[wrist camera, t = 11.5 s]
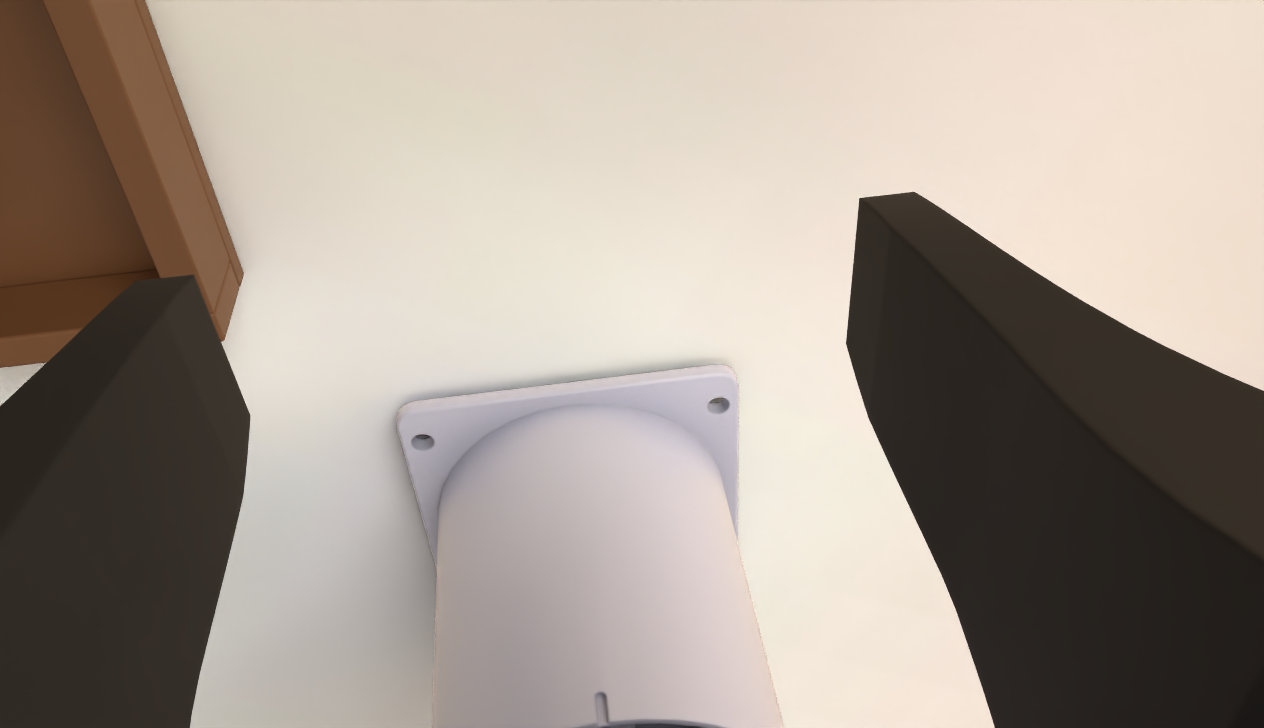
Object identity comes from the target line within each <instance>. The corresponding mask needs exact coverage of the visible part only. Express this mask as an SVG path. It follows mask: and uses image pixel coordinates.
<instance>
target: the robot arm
mask: <svg viewBox="0 0 1264 728" xmlns="http://www.w3.org/2000/svg"><path fill="white" fill-rule="evenodd" d="M846 345H847V348H848V352H849V355H850V359H851V362H852V366H853V369H854V372H855V376H856V379H857V383H858V386H859V389H860V392H861V396H862V399H863V402H864V405H865V408H866V411H867V414H868V418H869V420H870V422H871V424H872V426H873V429H874V431H875V433H876V435H877V438H878V440H879V442H880V444H881V446H882V449H883V451H884V453H885V455H886V457H887V459H888V462H889V464H890V466H891V468H892V470H893V472H894V475H895V477H896V479H897V481H898V483H899V485H900V487H901V489H902V492H903V494H904V496H905V498H906V500H907V502H908V504H909V506H910V509H911V511H912V513H913V515H914V517H915V519H916V521H917V523H918V526H919V528H920V530H921V532H922V534H923V536H924V538H925V541H926V543H927V545H928V547H929V549H930V551H931V553H932V555H933V558H934V560H935V562H936V564H937V566H938V568H939V570H940V572H941V575H942V577H943V579H944V582H945V584H946V587H947V589H948V592H949V594H950V596H951V599H952V601H953V604H954V606H955V609H956V611H957V614H958V617H959V620H960V623H961V626H962V629H963V632H964V635H965V638H966V641H967V643H968V646H969V649H970V652H971V655H972V658H973V661H974V664H975V667H976V670H977V673H978V676H979V679H980V682H981V685H982V688H983V691H984V694H985V697H986V700H987V704H988V707H989V710H990V713H991V716H992V719H993V723H994V726H995V728H1264V391H1262V390H1260V389H1258V388H1255V387H1253V386H1250V385H1248V384H1246V383H1243V382H1241V381H1239V380H1236V379H1234V378H1232V377H1229V376H1227V375H1225V374H1223V373H1220V372H1218V371H1216V370H1214V369H1212V368H1210V367H1208V366H1206V365H1203V364H1201V363H1199V362H1197V361H1195V360H1193V359H1191V358H1189V357H1186V356H1184V355H1182V354H1180V353H1178V352H1176V351H1174V350H1172V349H1169V348H1167V347H1165V346H1163V345H1161V344H1159V343H1157V342H1156V341H1154V340H1152V339H1150V338H1148V337H1146V336H1144V335H1142V334H1140V333H1138V332H1136V331H1134V330H1133V329H1131V328H1129V327H1127V326H1125V325H1124V324H1122V323H1120V322H1118V321H1117V320H1115V319H1113V318H1111V317H1110V316H1108V315H1106V314H1104V313H1103V312H1101V311H1099V310H1097V309H1095V308H1094V307H1092V306H1090V305H1088V304H1087V303H1085V302H1083V301H1082V300H1080V299H1078V298H1077V297H1075V296H1073V295H1072V294H1070V293H1068V292H1067V291H1065V290H1064V289H1062V288H1060V287H1059V286H1057V285H1055V284H1054V283H1052V282H1051V281H1049V280H1047V279H1046V278H1044V277H1043V276H1041V275H1040V274H1038V273H1036V272H1035V271H1033V270H1032V269H1030V268H1029V267H1027V266H1026V265H1024V264H1023V263H1021V262H1020V261H1018V260H1017V259H1015V258H1014V257H1012V256H1011V255H1009V254H1008V253H1006V252H1005V251H1003V250H1002V249H1000V248H999V247H997V246H996V245H994V244H993V243H991V242H990V241H988V240H987V239H985V238H984V237H982V236H981V235H979V234H978V233H976V232H975V231H974V230H972V229H971V228H969V227H968V226H966V225H965V224H963V223H962V222H960V221H959V220H957V219H956V218H954V217H953V216H951V215H950V214H948V213H947V212H946V211H944V210H942V209H941V208H939V207H938V206H936V205H935V204H933V203H932V202H930V201H929V200H927V199H925V198H924V197H922V196H920V195H919V194H917V193H915V192H909V193H900V194H892V195H883V196H874V197H865V198H859V209H858V220H857V231H856V242H855V253H854V264H853V274H852V285H851V296H850V307H849V318H848V329H847V340H846ZM718 397H719V398H724V399H723V400H722V401H721V402H717V403H710V401H711V400H713V399H715V398H718ZM249 428H250V414H249V411H248V409H247V406H246V404H245V401H244V399H243V396H242V394H241V391H240V389H239V386H238V384H237V381H236V379H235V376H234V374H233V371H232V369H231V366H230V364H229V361H228V359H227V356H226V354H225V351H224V349H223V346H222V344H221V341H220V339H219V336H218V334H217V331H216V329H215V326H214V324H213V321H212V319H211V316H210V314H209V311H208V309H207V306H206V304H205V301H204V299H203V296H202V294H201V291H200V289H199V286H198V284H197V281H196V279H195V276H194V274H193V275H184V276H175V277H167V278H158V279H149V280H141V281H135V282H134V283H133V284H132V285H130V286H129V287H128V288H127V289H125V290H124V291H123V292H122V293H121V294H119V295H118V296H117V297H116V298H115V299H114V300H113V301H112V302H111V303H109V304H108V305H107V306H106V307H105V308H104V309H103V310H102V311H101V312H100V313H99V314H98V315H97V316H95V317H94V318H93V319H92V320H91V321H90V322H89V323H88V324H87V325H86V326H85V327H84V328H83V329H82V330H81V331H80V332H79V333H78V334H77V335H75V336H74V337H73V338H72V339H71V340H70V341H69V342H68V343H67V344H66V345H65V346H64V347H63V348H62V349H61V350H60V351H59V352H58V353H57V354H56V355H55V356H53V357H52V358H51V359H50V360H49V361H48V362H47V363H46V364H45V365H44V366H43V367H42V368H41V369H40V370H39V371H38V372H36V373H35V374H34V375H33V376H32V377H31V378H30V379H29V380H28V381H27V382H26V383H25V384H24V385H23V386H22V387H21V388H19V389H18V390H17V391H16V392H15V393H14V394H13V395H12V396H11V397H10V398H9V399H8V400H7V401H5V402H4V403H3V404H2V405H1V406H0V728H190V722H191V715H192V709H193V704H194V699H195V694H196V689H197V684H198V679H199V674H200V670H201V666H202V662H203V658H204V654H205V650H206V646H207V642H208V638H209V634H210V630H211V626H212V622H213V618H214V614H215V610H216V606H217V602H218V598H219V594H220V590H221V586H222V582H223V578H224V574H225V570H226V566H227V562H228V558H229V554H230V550H231V545H232V541H233V537H234V533H235V529H236V525H237V520H238V516H239V512H240V507H241V503H242V499H243V493H244V483H245V474H246V465H247V454H248V441H249ZM397 430H398V434H399V438H400V441H401V445H402V448H403V452H404V455H405V459H406V463H407V466H408V470H409V473H410V477H411V480H412V484H413V488H414V491H415V495H416V498H417V502H418V505H419V509H420V513H421V516H422V520H423V523H424V527H425V530H426V534H427V538H428V541H429V545H430V548H431V552H432V555H433V559H434V563H435V566H436V570H437V581H436V614H435V647H434V680H433V713H432V728H784V725H783V721H782V717H781V713H780V709H779V705H778V701H777V697H776V693H775V689H774V685H773V681H772V677H771V673H770V669H769V665H768V661H767V657H766V653H765V649H764V645H763V642H762V638H761V634H760V630H759V626H758V622H757V618H756V614H755V610H754V606H753V602H752V598H751V594H750V590H749V586H748V582H747V578H746V574H745V570H744V566H743V562H742V558H741V554H740V550H739V546H738V450H739V384H738V380H737V377H736V374H735V371H734V370H733V369H732V368H731V367H728V366H726V365H719V364H715V365H706V366H698V367H690V368H682V369H674V370H665V371H657V372H649V373H641V374H633V375H624V376H616V377H608V378H600V379H592V380H583V381H575V382H567V383H559V384H550V385H542V386H534V387H526V388H518V389H509V390H501V391H493V392H485V393H477V394H468V395H460V396H452V397H444V398H436V399H427V400H419V401H413V402H410V403H407V404H405V405H404V406H402V407H401V408H400V410H399V412H398V414H397ZM420 434H424V435H428V436H430V438H427V439H419V438H417V437H415V436H417V435H420Z"/></svg>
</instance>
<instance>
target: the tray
mask: <svg viewBox="0 0 1264 728" xmlns="http://www.w3.org/2000/svg"><path fill="white" fill-rule="evenodd" d="M193 274H194V276H195V279H196V281H197V284H198V286H199V289H200V291H201V294H202V296H203V299H204V301H205V304H206V306H207V309H208V311H209V314H210V316H211V319H212V321H213V324H214V326H215V329H216V331H217V334H218V336H219V339H220V341H221V342H222V341H224V340H225V336H226V333H227V329H228V326H229V322H230V319H231V315H232V312H233V308H234V305H235V301H236V298H237V294H238V291H239V286H240V285H241V282H242V278H243V274H244V273H243V270H242V267H241V265H240V262H239V259H238V256H237V254H236V251H235V248H234V245H233V242H232V240H231V237H230V234H229V231H228V229H227V226H226V223H225V220H224V218H223V215H222V212H221V209H220V207H219V204H218V201H217V198H216V196H215V193H214V190H213V187H212V184H211V182H210V179H209V176H208V173H207V171H206V168H205V165H204V162H203V160H202V157H201V154H200V151H199V149H198V146H197V143H196V140H195V137H194V135H193V132H192V129H191V126H190V124H189V121H188V118H187V115H186V113H185V110H184V107H183V104H182V102H181V99H180V96H179V93H178V91H177V88H176V85H175V82H174V79H173V77H172V74H171V71H170V68H169V66H168V63H167V60H166V57H165V55H164V52H163V49H162V46H161V44H160V41H159V38H158V35H157V33H156V30H155V27H154V24H153V21H152V19H151V16H150V13H149V10H148V8H147V5H146V2H145V0H0V368H2V367H11V366H19V365H28V364H36V363H45V362H48V361H49V360H50V359H51V358H52V357H53V356H55V355H56V354H57V353H58V352H59V351H60V350H61V349H62V348H63V347H64V346H65V345H66V344H67V343H68V342H69V341H70V340H71V339H72V338H73V337H74V336H75V335H77V334H78V333H79V332H80V331H81V330H82V329H83V328H84V327H85V326H86V325H87V324H88V323H89V322H90V321H91V320H92V319H93V318H94V317H95V316H97V315H98V314H99V313H100V312H101V311H102V310H103V309H104V308H105V307H106V306H107V305H108V304H109V303H111V302H112V301H113V300H114V299H115V298H116V297H117V296H118V295H119V294H121V293H122V292H123V291H124V290H125V289H127V288H128V287H129V286H130V285H132V284H133V283H134V282H135V281H141V280H149V279H158V278H167V277H175V276H184V275H193Z"/></svg>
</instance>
